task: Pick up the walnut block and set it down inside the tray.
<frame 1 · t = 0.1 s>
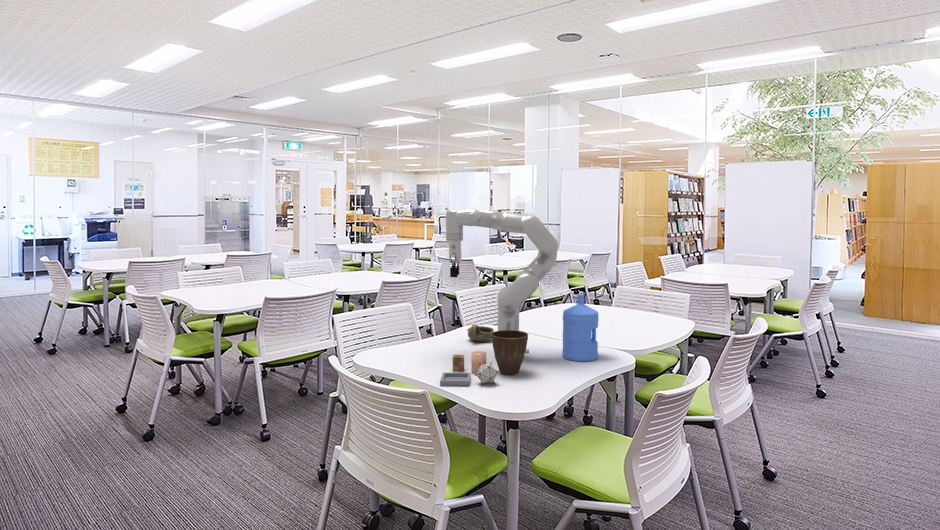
hand: (454, 275, 250), 37 cm above the table, tool pointing down, fingers open, 9 cm apart
walnut block: (458, 370, 232), on the table
water jug: (579, 357, 251), on the table
game die: (486, 384, 214), on the table
terracotta cup: (478, 372, 229), on the table
plant pot: (509, 373, 228), on the table
tray: (455, 381, 216), on the table
tan curved open container: (479, 341, 283), on the table
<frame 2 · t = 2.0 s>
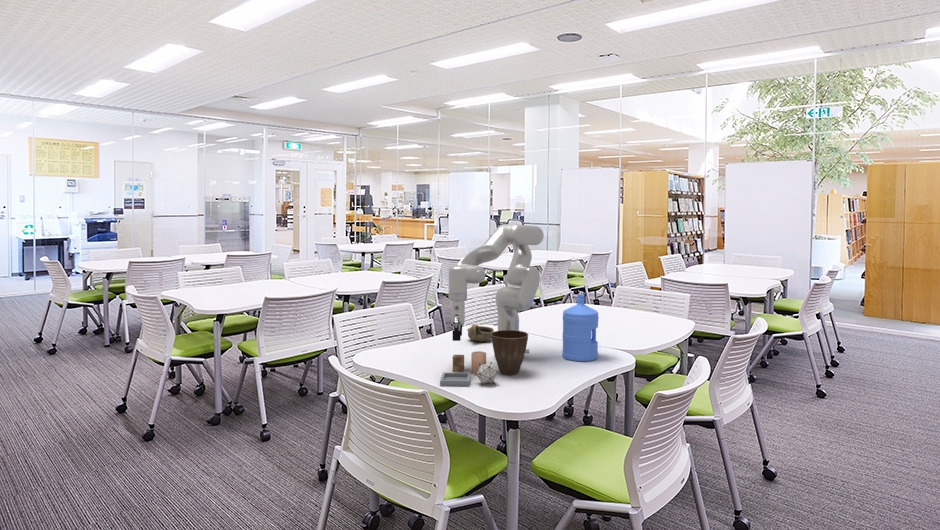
hand: (457, 338, 230), 14 cm above the table, tool pointing down, fingers open, 9 cm apart
nothing on the table moved.
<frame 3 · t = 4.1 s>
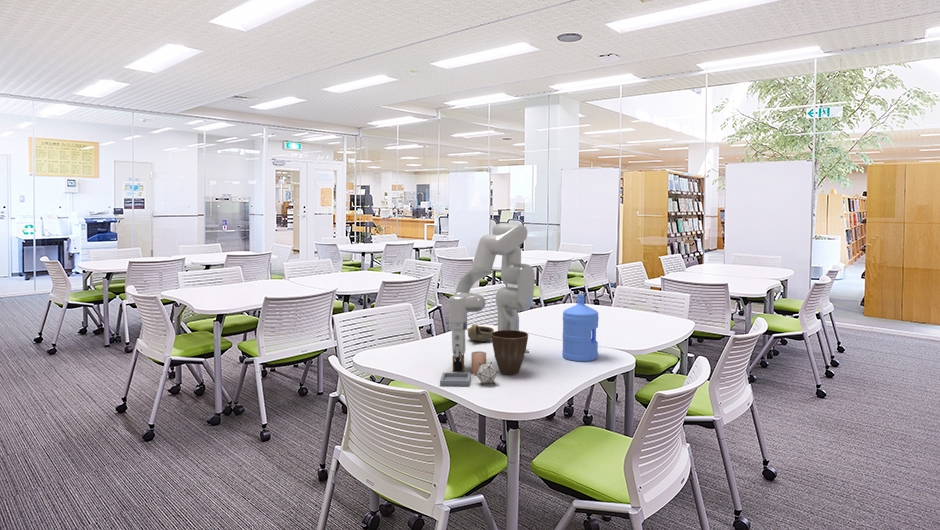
hand: (458, 368, 232), 1 cm above the table, tool pointing down, fingers closed on walnut block, 4 cm apart
walnut block: (458, 370, 232), on the table, touching gripper
everything else where it was.
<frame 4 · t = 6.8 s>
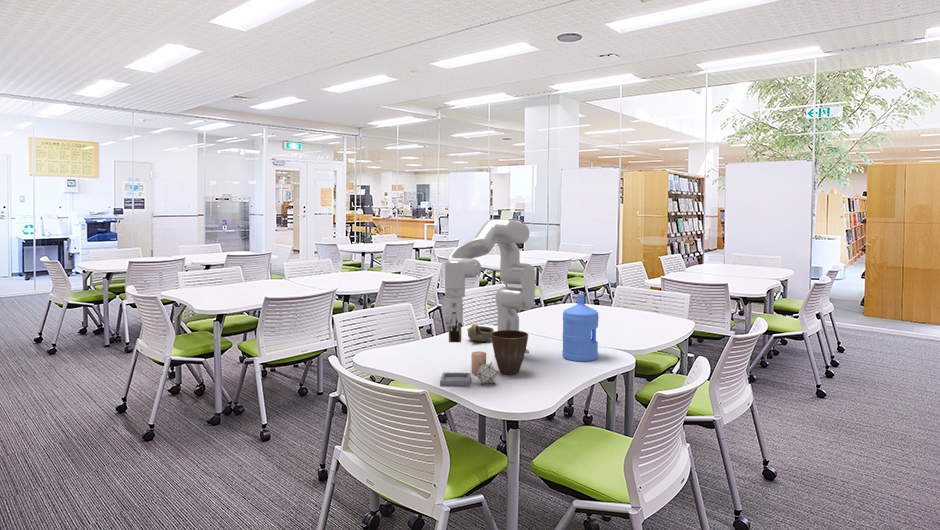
hand: (455, 339, 214), 17 cm above the table, tool pointing down, fingers closed on walnut block, 4 cm apart
walnut block: (455, 341, 214), point 16 cm above the table, touching gripper
everything else where it was.
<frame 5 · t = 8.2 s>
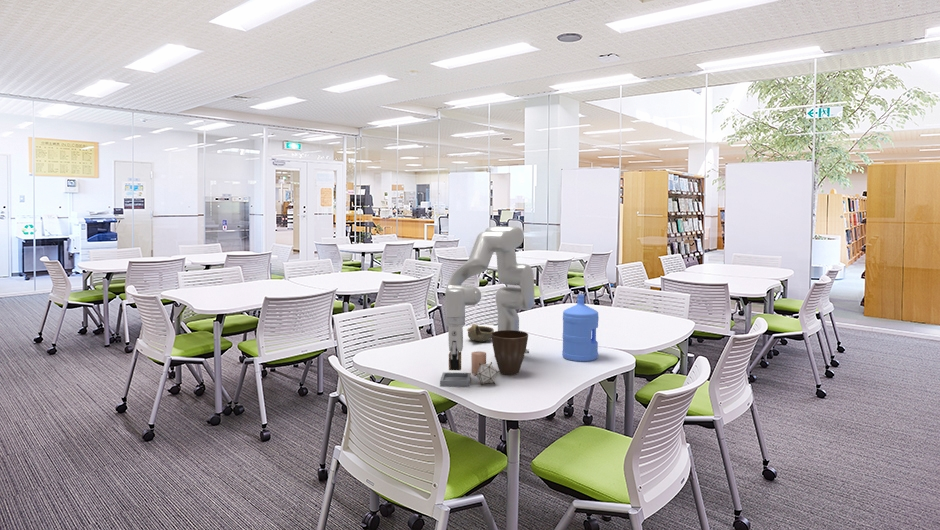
hand: (455, 367, 215), 6 cm above the table, tool pointing down, fingers closed on walnut block, 4 cm apart
walnut block: (455, 368, 215), point 5 cm above the table, touching gripper
everything else where it was.
when the fingers open (2 cm above the table, at t = 9.5 s): walnut block drops 1 cm, resting on tray.
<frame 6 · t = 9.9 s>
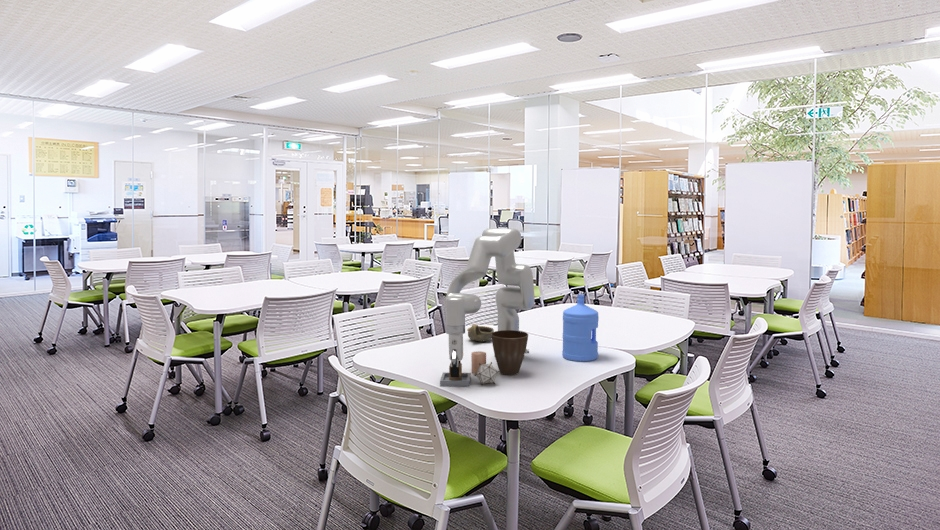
hand: (455, 373, 216), 3 cm above the table, tool pointing down, fingers open, 8 cm apart
walnut block: (455, 380, 216), point 1 cm above the table, touching tray
everything else where it was.
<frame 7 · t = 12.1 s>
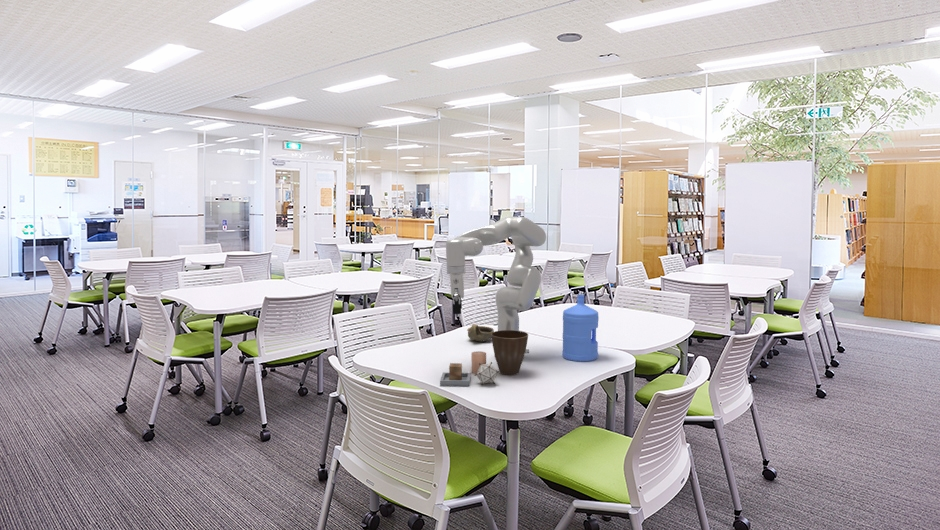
hand: (457, 311, 229), 25 cm above the table, tool pointing down, fingers open, 9 cm apart
nothing on the table moved.
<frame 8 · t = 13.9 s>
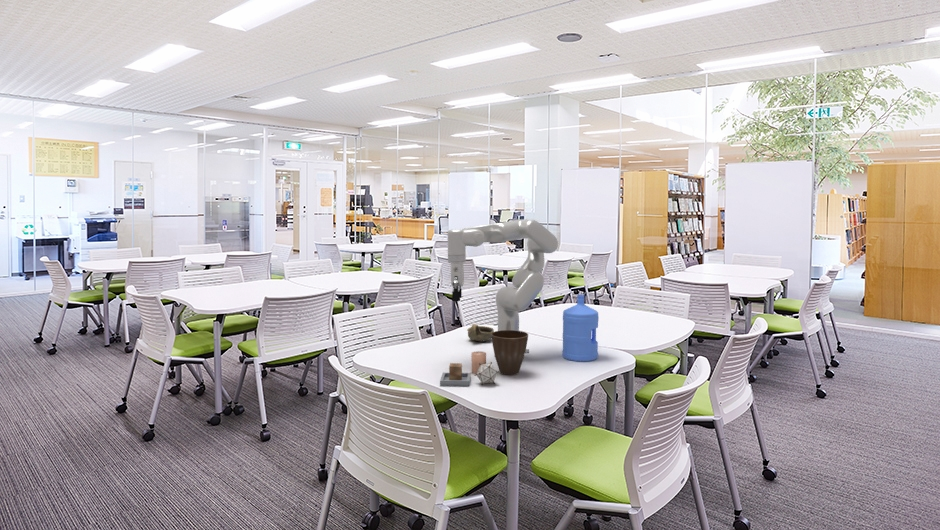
hand: (457, 299, 237), 28 cm above the table, tool pointing down, fingers open, 9 cm apart
nothing on the table moved.
at the end: walnut block inside the target area on the tray (0.1 cm from its centre), point 0.6 cm above the tray's base; walnut block tilted 0°; the gripper is holding nothing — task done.
